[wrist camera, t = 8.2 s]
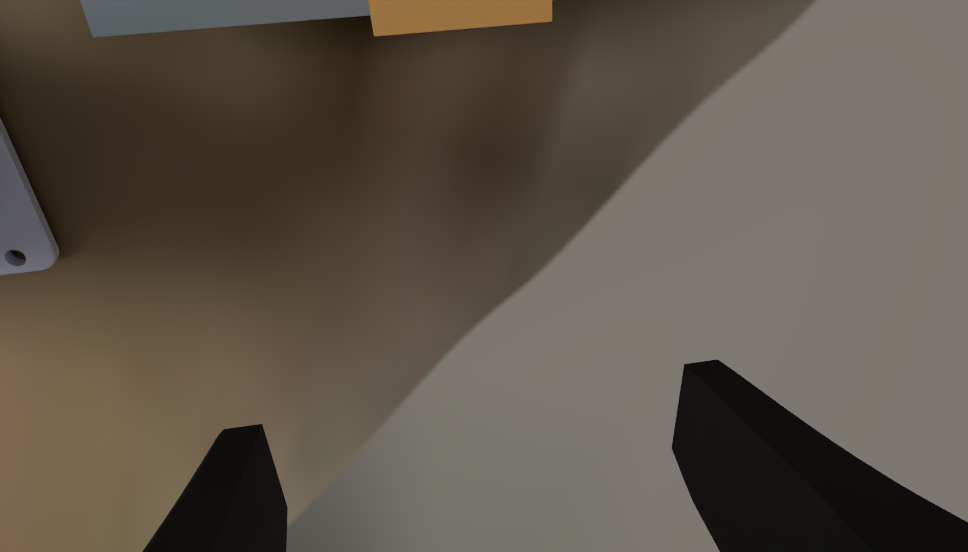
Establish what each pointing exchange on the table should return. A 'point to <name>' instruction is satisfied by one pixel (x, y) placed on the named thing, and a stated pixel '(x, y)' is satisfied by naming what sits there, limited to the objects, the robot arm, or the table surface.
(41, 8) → the table surface
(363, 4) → the carton lid
